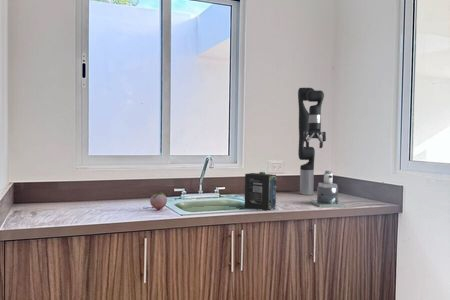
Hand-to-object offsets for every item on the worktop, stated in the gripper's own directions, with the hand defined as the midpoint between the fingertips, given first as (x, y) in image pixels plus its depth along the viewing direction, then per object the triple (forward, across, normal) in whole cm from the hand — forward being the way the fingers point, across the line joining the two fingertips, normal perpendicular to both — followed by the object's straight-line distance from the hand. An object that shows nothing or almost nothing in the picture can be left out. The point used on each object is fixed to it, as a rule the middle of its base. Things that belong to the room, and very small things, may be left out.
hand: (314, 148), depth 239 cm
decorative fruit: (+33, +96, +25) cm, 105 cm away
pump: (+22, -3, +15) cm, 27 cm away
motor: (+33, -3, +15) cm, 36 cm away
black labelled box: (+33, +40, +23) cm, 57 cm away
